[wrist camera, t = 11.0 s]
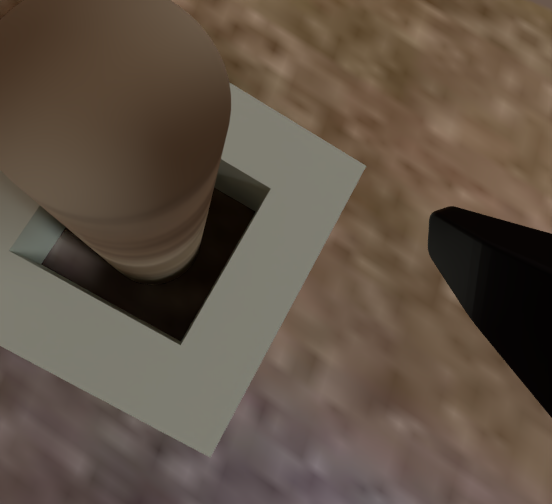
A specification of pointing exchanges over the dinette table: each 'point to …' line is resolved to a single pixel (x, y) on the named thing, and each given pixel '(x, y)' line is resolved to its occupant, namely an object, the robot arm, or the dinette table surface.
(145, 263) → the birch peg
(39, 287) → the socket block
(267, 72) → the dinette table surface
